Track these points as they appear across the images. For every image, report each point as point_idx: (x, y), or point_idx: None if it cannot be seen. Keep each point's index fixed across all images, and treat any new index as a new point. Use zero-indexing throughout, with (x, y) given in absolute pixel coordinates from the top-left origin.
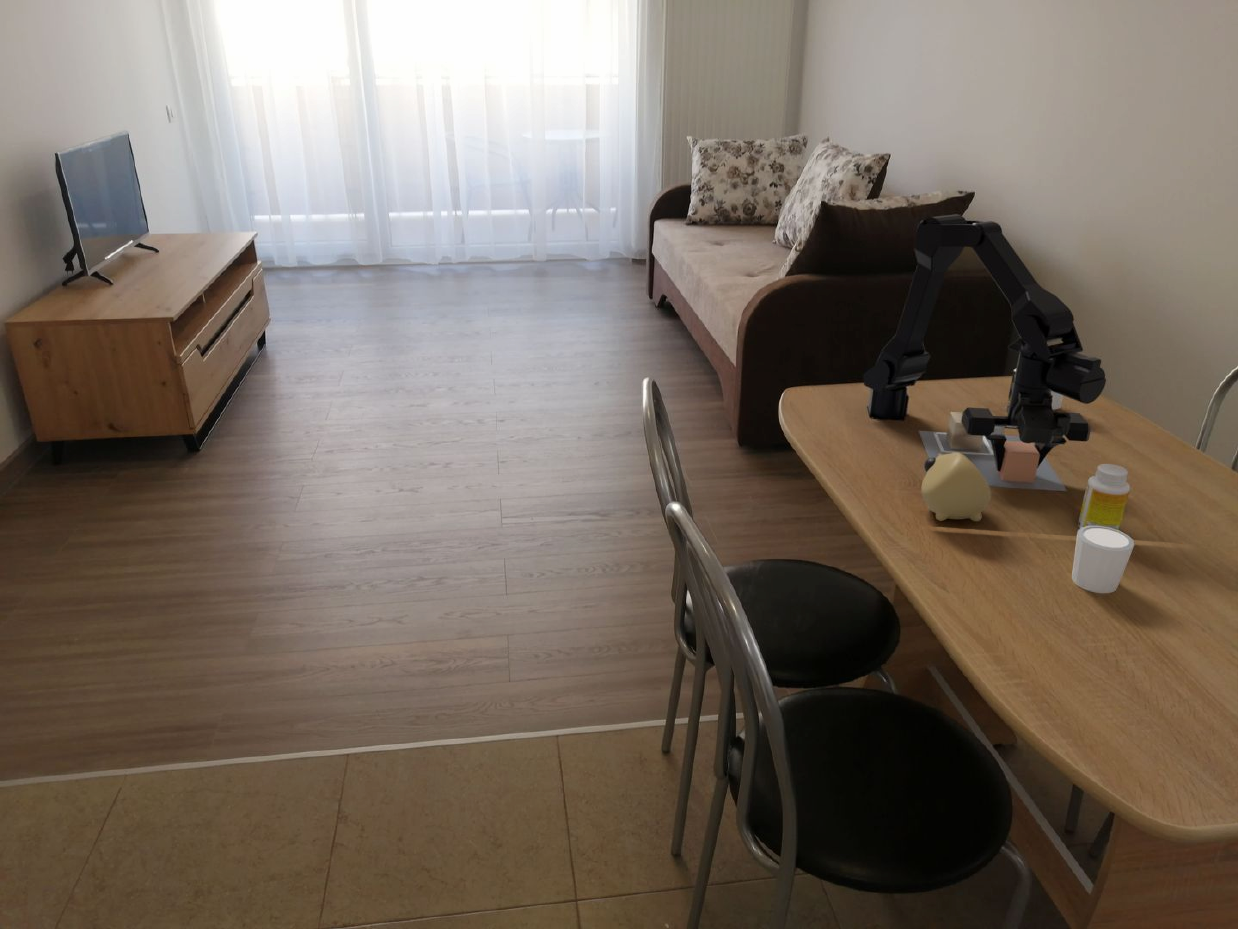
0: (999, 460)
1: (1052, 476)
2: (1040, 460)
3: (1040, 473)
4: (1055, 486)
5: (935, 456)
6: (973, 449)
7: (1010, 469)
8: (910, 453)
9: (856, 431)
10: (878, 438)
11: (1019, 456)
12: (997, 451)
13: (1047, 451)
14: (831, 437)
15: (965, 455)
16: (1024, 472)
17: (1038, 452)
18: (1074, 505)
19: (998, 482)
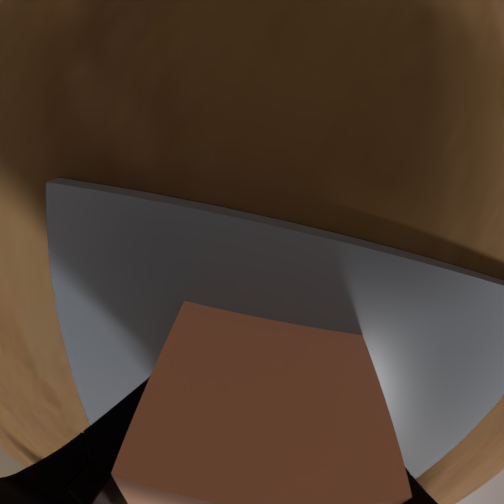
0: None
1: (80, 338)
2: (113, 423)
3: (123, 371)
4: (83, 240)
5: (435, 454)
6: None
7: (346, 386)
8: (452, 455)
9: (453, 486)
10: (446, 481)
11: (311, 481)
12: (419, 494)
13: (52, 468)
14: (500, 459)
15: None
16: (246, 360)
17: (120, 489)
18: (73, 51)
19: (398, 314)
